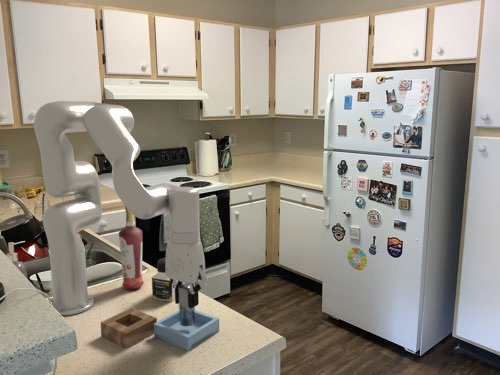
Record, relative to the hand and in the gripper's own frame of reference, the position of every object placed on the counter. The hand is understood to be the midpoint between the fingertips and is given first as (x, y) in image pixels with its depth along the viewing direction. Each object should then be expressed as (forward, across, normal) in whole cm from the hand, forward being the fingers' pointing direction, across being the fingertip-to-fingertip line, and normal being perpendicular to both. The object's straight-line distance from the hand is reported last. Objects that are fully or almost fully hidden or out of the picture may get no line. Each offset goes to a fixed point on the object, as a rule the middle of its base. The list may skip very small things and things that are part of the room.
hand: (186, 303), depth 115 cm
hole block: (+8, -12, -9) cm, 17 cm away
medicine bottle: (+9, -21, +14) cm, 27 cm away
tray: (+8, 0, 0) cm, 8 cm away
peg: (+5, 0, 0) cm, 5 cm away
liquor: (+8, -35, +12) cm, 38 cm away
